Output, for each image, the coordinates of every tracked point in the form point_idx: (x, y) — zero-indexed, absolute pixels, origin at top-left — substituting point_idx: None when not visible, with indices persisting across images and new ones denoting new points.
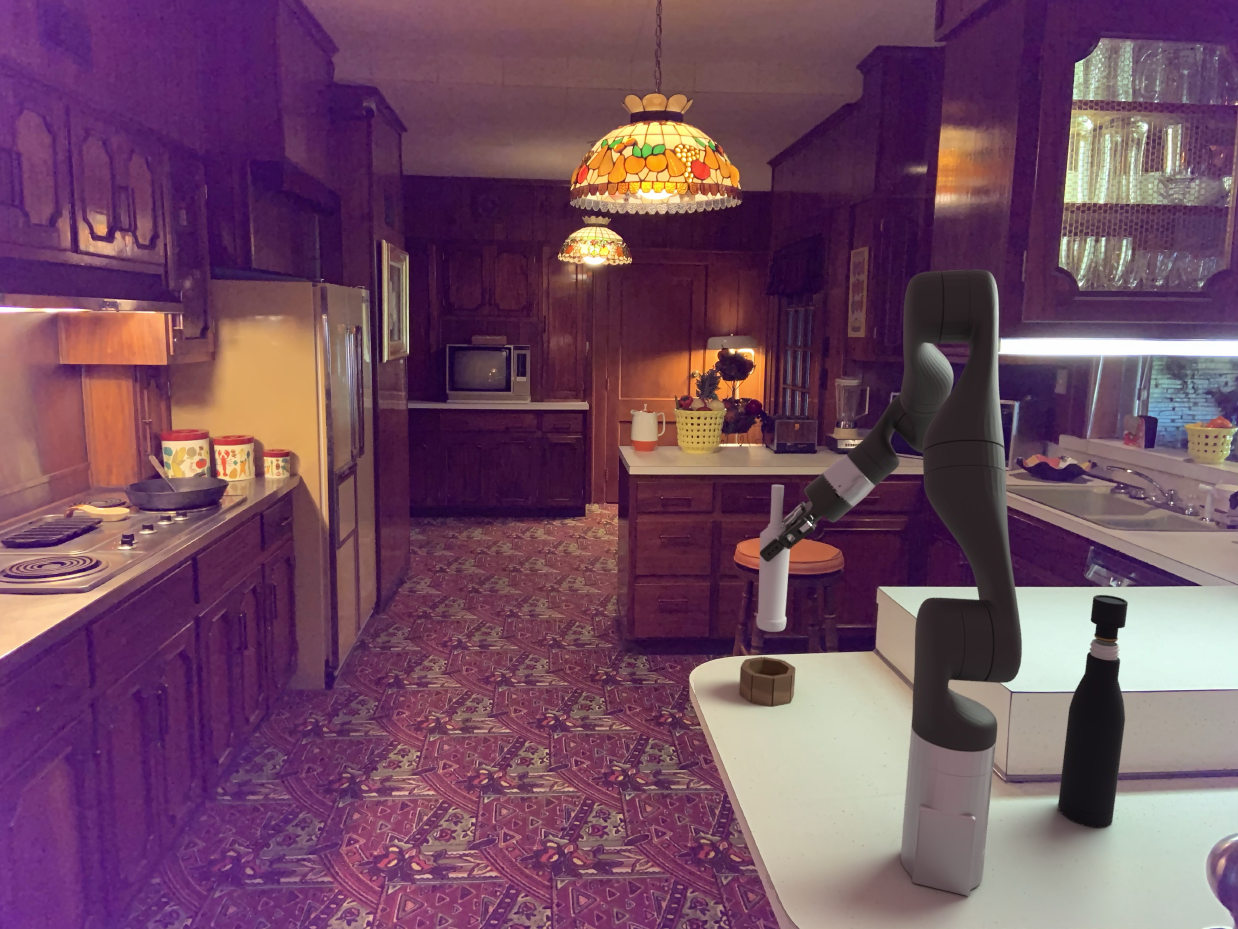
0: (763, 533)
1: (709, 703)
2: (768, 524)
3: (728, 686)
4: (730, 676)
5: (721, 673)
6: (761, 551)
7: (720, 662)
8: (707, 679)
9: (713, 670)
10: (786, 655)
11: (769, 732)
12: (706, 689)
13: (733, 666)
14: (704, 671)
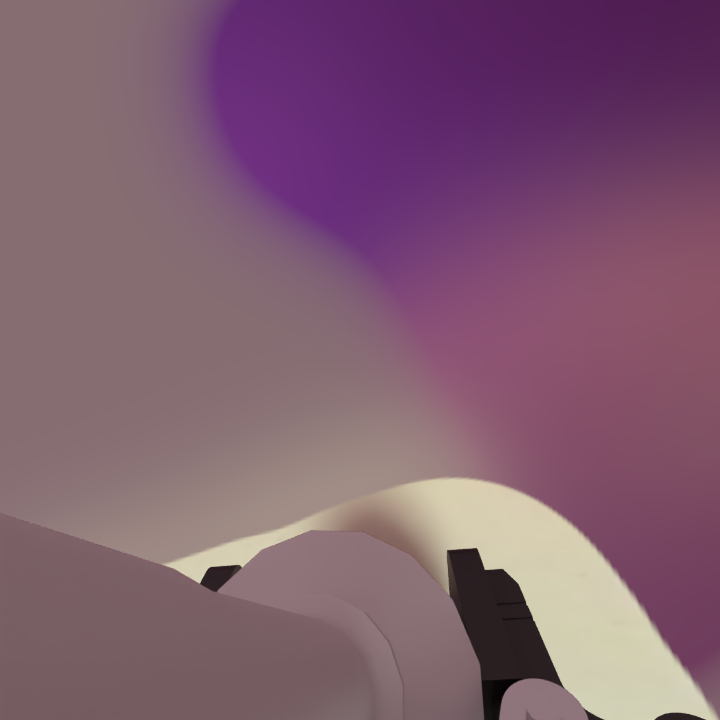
0: (267, 561)
1: (308, 520)
2: (305, 596)
3: (407, 548)
4: (466, 545)
5: (475, 521)
6: (205, 577)
7: (540, 509)
8: (428, 495)
9: (484, 500)
10: (699, 700)
11: None
12: (375, 502)
13: (531, 544)
14: (469, 481)
